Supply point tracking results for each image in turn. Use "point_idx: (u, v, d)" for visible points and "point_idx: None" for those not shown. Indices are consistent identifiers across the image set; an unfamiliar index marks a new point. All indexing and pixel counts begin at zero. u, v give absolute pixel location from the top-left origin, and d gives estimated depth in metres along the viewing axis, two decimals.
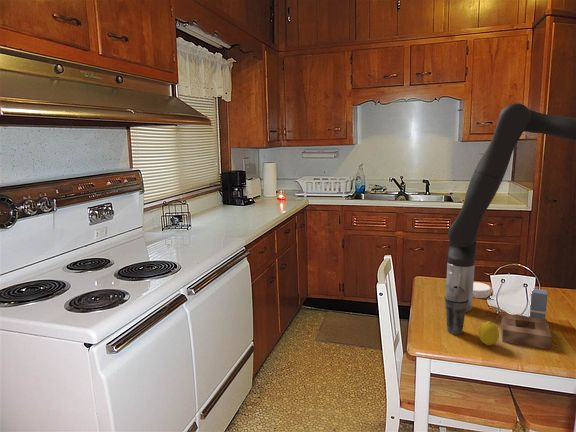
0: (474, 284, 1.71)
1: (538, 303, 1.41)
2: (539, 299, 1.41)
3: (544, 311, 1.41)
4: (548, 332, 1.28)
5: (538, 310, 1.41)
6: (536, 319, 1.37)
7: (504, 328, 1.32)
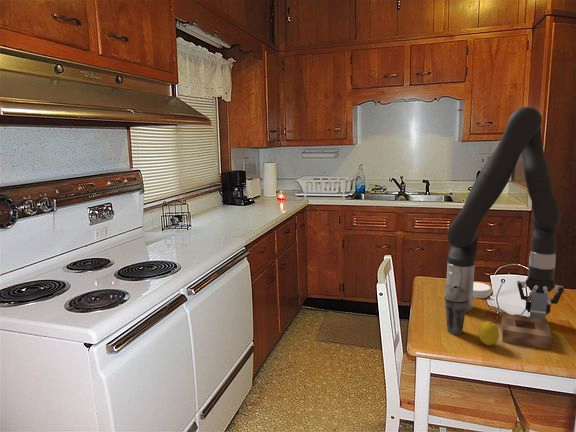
0: (474, 284, 1.71)
1: (538, 303, 1.41)
2: (539, 299, 1.41)
3: (544, 311, 1.41)
4: (548, 332, 1.28)
5: (538, 310, 1.41)
6: (536, 319, 1.37)
7: (504, 328, 1.32)
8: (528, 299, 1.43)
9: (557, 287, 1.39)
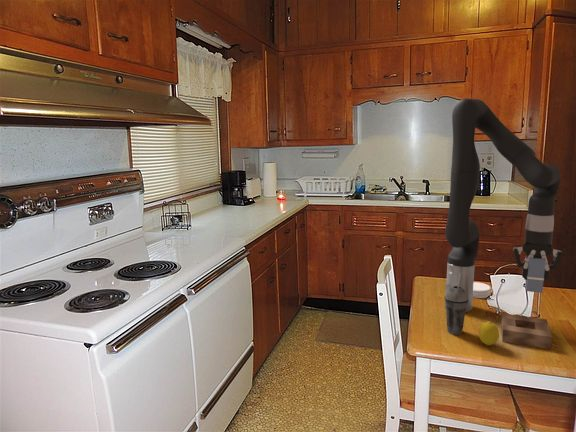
0: (474, 284, 1.71)
1: (536, 269, 1.33)
2: (537, 265, 1.32)
3: (542, 277, 1.32)
4: (548, 332, 1.28)
5: (535, 277, 1.33)
6: (536, 319, 1.37)
7: (504, 328, 1.32)
8: (525, 265, 1.35)
9: (555, 251, 1.31)
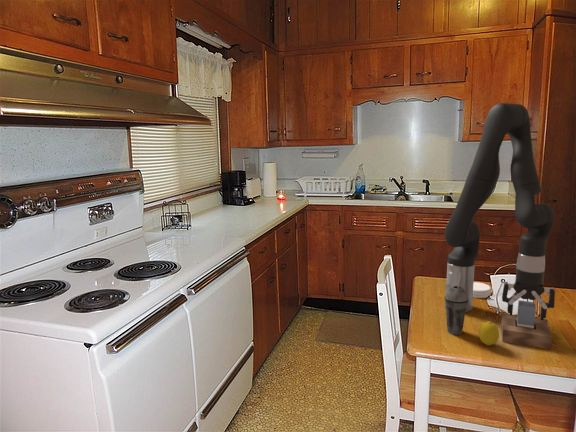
0: (474, 284, 1.71)
1: (526, 316, 1.31)
2: (527, 312, 1.31)
3: (532, 325, 1.31)
4: (548, 332, 1.28)
5: (525, 324, 1.32)
6: (536, 319, 1.37)
7: (504, 328, 1.32)
8: (510, 301, 1.33)
9: (547, 290, 1.29)
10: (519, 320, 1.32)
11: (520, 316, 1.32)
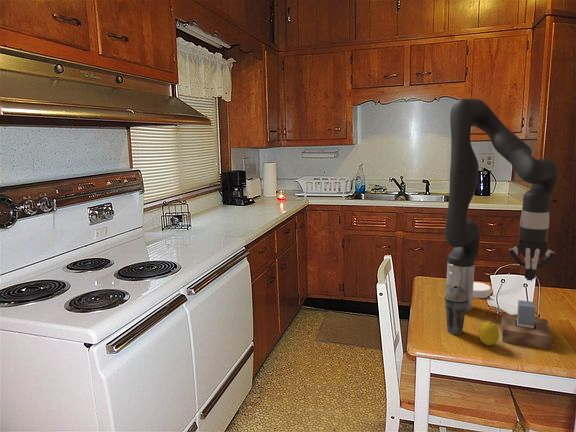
0: (474, 284, 1.71)
1: (526, 316, 1.31)
2: (526, 312, 1.31)
3: (532, 325, 1.31)
4: (548, 332, 1.28)
5: (525, 324, 1.32)
6: (536, 319, 1.37)
7: (504, 328, 1.32)
8: (526, 266, 1.29)
9: (549, 252, 1.27)
10: (519, 320, 1.32)
11: (520, 316, 1.32)
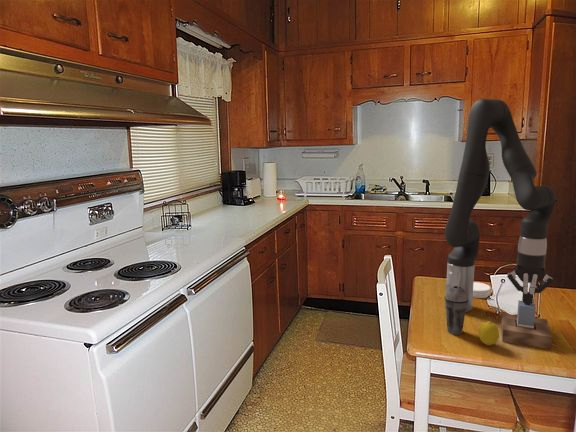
0: (474, 284, 1.71)
1: (526, 316, 1.31)
2: (526, 312, 1.31)
3: (532, 325, 1.31)
4: (548, 332, 1.28)
5: (525, 324, 1.32)
6: (536, 319, 1.37)
7: (504, 328, 1.32)
8: (524, 290, 1.31)
9: (547, 277, 1.28)
10: (519, 320, 1.32)
11: (520, 316, 1.32)
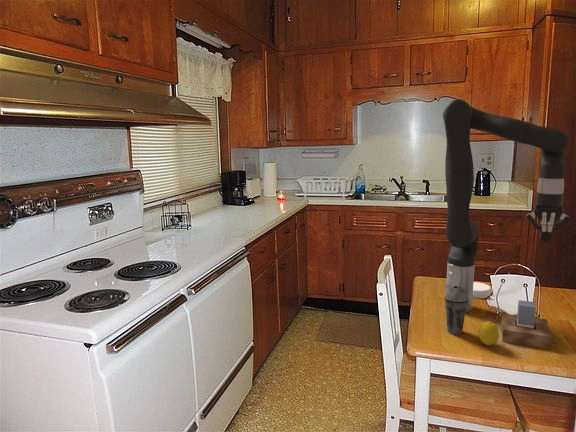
0: (474, 284, 1.71)
1: (526, 316, 1.31)
2: (526, 312, 1.31)
3: (532, 325, 1.31)
4: (548, 332, 1.28)
5: (525, 324, 1.32)
6: (536, 319, 1.37)
7: (504, 328, 1.32)
8: (543, 229, 1.42)
9: (564, 215, 1.39)
10: (519, 320, 1.32)
11: (520, 316, 1.32)
